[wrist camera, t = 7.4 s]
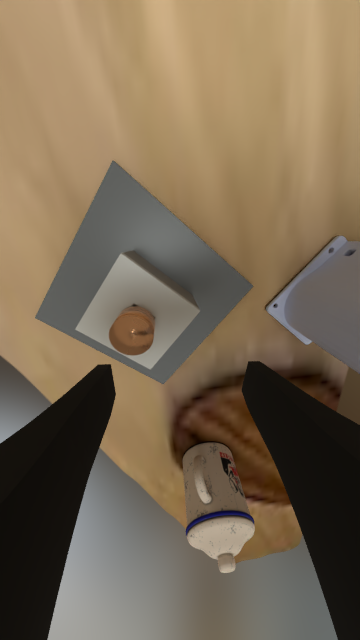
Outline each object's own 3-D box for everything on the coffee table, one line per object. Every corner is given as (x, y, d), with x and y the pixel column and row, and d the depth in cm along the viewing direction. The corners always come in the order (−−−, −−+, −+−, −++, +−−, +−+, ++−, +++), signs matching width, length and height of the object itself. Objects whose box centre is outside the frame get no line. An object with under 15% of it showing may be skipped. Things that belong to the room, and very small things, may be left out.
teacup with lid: (237, 461, 32) (273, 571, 21) (191, 475, 33) (203, 587, 22) (218, 423, 27) (252, 540, 16) (165, 440, 28) (164, 562, 17)
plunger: (134, 268, 15) (115, 282, 10) (179, 301, 16) (185, 329, 11) (106, 311, 16) (76, 345, 11) (150, 338, 18) (143, 379, 12)
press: (114, 162, 13) (86, 120, 9) (251, 285, 18) (280, 299, 14) (37, 316, 18) (-7, 341, 13) (163, 381, 23) (162, 416, 18)
